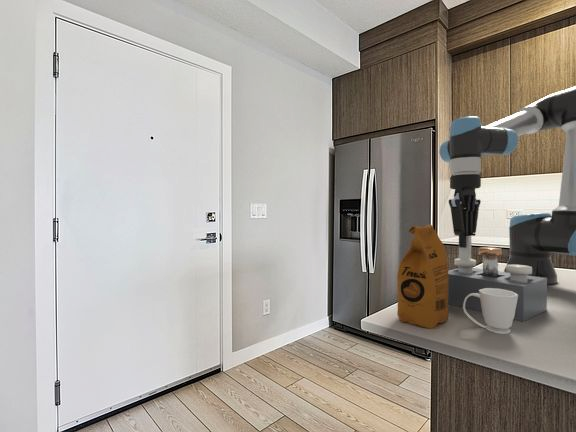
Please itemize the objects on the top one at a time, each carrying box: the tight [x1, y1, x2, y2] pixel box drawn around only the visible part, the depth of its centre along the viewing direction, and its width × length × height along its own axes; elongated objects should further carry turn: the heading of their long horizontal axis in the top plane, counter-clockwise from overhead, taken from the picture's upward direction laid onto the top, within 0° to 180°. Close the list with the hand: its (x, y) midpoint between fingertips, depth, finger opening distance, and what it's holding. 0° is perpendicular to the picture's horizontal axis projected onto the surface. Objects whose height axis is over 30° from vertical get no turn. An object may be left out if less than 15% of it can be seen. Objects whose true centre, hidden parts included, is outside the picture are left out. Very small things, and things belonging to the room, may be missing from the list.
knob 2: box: [505, 264, 532, 283], centre depth 79 cm, size 5×5×8 cm
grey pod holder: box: [448, 267, 548, 322], centre depth 85 cm, size 14×20×8 cm
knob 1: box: [454, 257, 477, 274], centre depth 90 cm, size 5×5×8 cm
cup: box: [462, 288, 518, 335], centre depth 69 cm, size 7×10×8 cm
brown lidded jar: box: [478, 247, 503, 278], centre depth 85 cm, size 5×5×8 cm
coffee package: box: [396, 223, 450, 330], centre depth 75 cm, size 10×12×22 cm
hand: (464, 259), depth 90 cm, fingers closed
